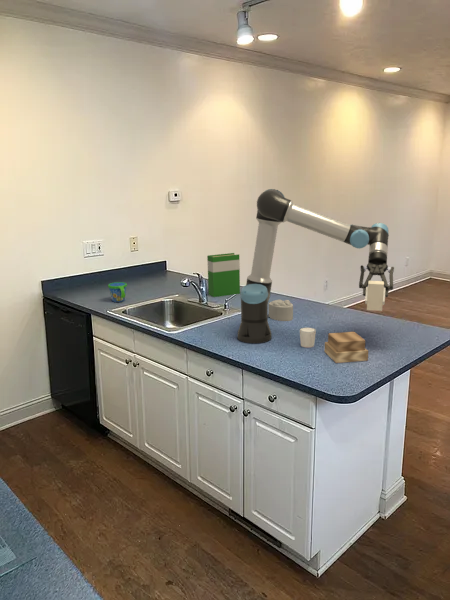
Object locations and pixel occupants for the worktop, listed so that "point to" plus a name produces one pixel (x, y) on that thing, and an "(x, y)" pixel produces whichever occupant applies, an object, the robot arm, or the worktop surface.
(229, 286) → the hardback book
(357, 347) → the block tower
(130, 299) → the worktop surface
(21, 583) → the worktop surface
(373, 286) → the cream brick
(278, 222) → the robot arm
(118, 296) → the snack cup
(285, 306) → the lumpy-topped squat cylinder
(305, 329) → the shot glass
